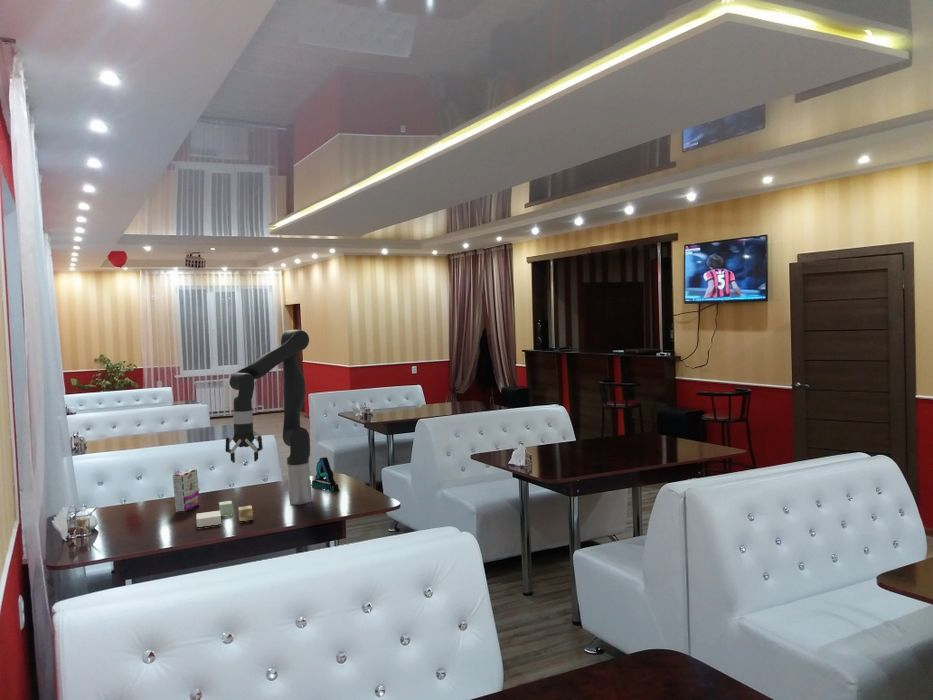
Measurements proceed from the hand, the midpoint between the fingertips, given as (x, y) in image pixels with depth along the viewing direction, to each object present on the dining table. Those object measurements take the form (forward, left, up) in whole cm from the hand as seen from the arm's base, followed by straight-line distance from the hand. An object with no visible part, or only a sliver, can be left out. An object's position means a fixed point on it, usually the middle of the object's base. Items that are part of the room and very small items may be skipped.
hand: (244, 461), depth 287 cm
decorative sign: (-37, -31, -23) cm, 54 cm away
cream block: (+15, +1, -23) cm, 28 cm away
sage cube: (+8, -10, -23) cm, 27 cm away
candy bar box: (+23, -29, -23) cm, 44 cm away
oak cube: (+1, +3, -23) cm, 23 cm away
